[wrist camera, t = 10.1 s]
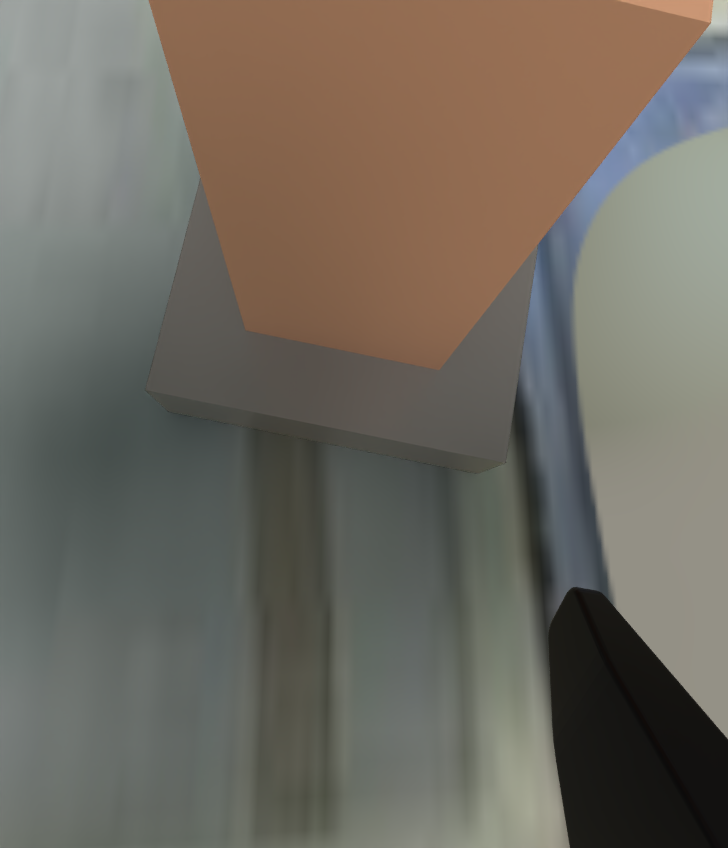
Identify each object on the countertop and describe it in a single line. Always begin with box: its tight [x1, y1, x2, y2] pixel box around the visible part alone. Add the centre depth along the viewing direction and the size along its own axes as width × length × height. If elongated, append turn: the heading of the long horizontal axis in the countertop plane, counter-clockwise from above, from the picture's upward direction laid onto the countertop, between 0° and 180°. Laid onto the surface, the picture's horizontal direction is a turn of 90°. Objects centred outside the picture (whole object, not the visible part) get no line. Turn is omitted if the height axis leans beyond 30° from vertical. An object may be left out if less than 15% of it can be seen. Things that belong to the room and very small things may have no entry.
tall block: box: [149, 0, 713, 370], centre depth 12 cm, size 6×6×12 cm
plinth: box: [145, 178, 538, 474], centre depth 20 cm, size 10×10×3 cm
